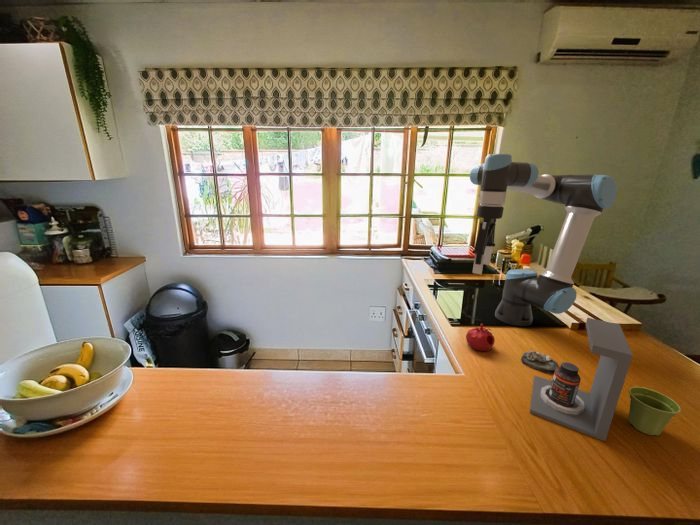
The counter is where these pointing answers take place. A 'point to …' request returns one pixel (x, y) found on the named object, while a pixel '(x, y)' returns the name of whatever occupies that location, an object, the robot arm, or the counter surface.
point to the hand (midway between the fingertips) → (481, 268)
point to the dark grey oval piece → (539, 361)
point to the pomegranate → (480, 338)
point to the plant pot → (650, 410)
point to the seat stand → (601, 402)
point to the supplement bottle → (565, 384)
